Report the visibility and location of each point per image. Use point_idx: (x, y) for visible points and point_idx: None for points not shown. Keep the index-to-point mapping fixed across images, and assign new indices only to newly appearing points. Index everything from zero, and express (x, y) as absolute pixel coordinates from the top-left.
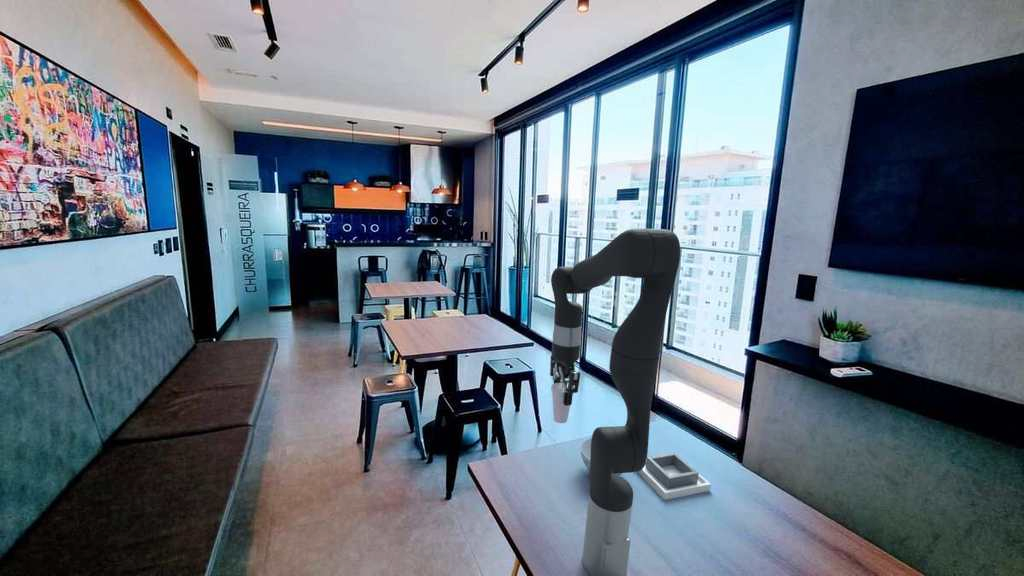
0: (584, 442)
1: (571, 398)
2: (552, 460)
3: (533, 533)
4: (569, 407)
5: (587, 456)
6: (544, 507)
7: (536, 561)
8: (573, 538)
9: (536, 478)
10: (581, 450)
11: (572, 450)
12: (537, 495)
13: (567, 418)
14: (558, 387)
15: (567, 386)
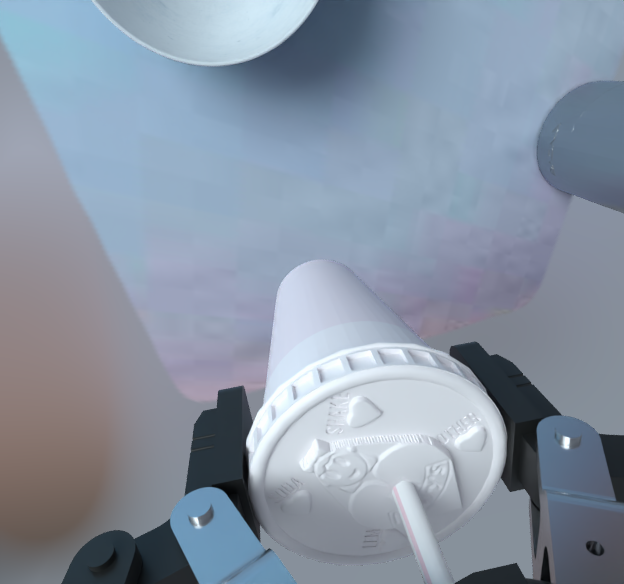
0: (105, 8)
1: (535, 393)
2: (117, 158)
3: (448, 288)
4: (387, 307)
5: (143, 2)
6: (366, 243)
7: (523, 294)
8: (490, 190)
9: (231, 242)
10: (195, 63)
11: (23, 35)
12: (314, 254)
13: (345, 268)
14: (397, 524)
15: (362, 430)
